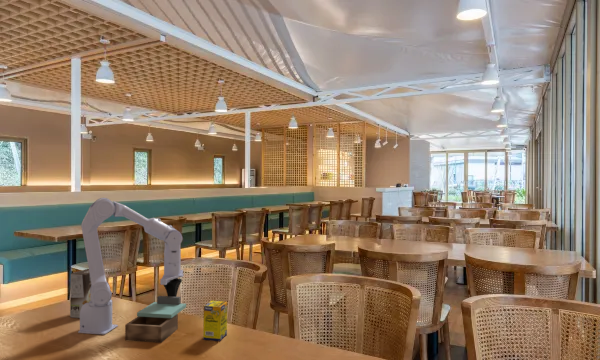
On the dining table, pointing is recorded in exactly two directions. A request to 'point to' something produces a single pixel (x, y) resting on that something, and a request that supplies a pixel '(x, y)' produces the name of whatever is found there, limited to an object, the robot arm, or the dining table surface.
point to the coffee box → (79, 291)
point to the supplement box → (215, 321)
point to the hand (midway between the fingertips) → (172, 299)
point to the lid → (163, 307)
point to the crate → (150, 329)
